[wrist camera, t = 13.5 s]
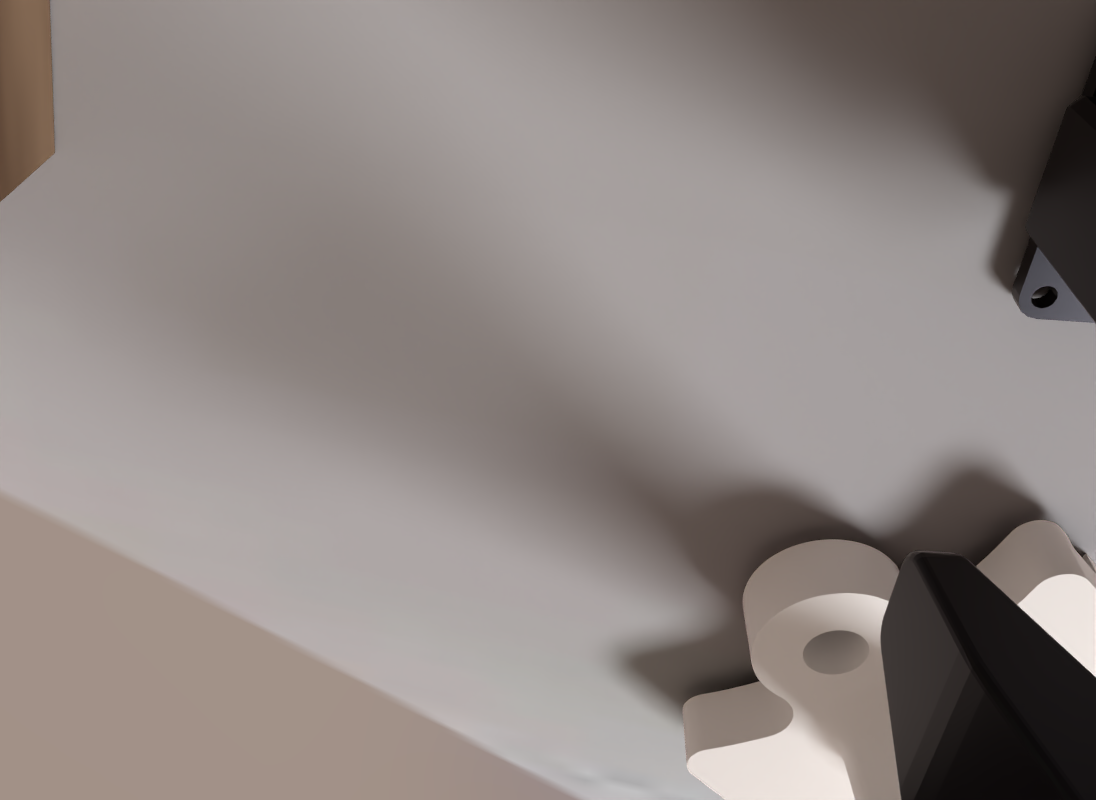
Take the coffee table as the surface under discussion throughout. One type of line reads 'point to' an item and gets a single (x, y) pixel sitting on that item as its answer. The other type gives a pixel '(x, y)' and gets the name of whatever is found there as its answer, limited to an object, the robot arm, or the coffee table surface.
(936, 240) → the coffee table surface
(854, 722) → the joystick
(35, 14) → the base block
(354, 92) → the coffee table surface
